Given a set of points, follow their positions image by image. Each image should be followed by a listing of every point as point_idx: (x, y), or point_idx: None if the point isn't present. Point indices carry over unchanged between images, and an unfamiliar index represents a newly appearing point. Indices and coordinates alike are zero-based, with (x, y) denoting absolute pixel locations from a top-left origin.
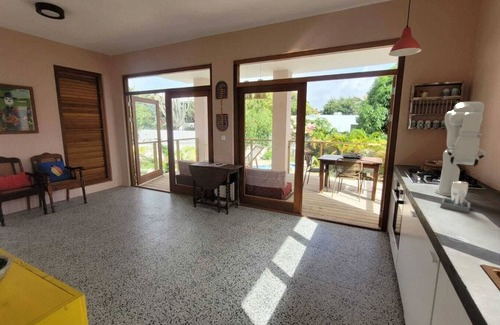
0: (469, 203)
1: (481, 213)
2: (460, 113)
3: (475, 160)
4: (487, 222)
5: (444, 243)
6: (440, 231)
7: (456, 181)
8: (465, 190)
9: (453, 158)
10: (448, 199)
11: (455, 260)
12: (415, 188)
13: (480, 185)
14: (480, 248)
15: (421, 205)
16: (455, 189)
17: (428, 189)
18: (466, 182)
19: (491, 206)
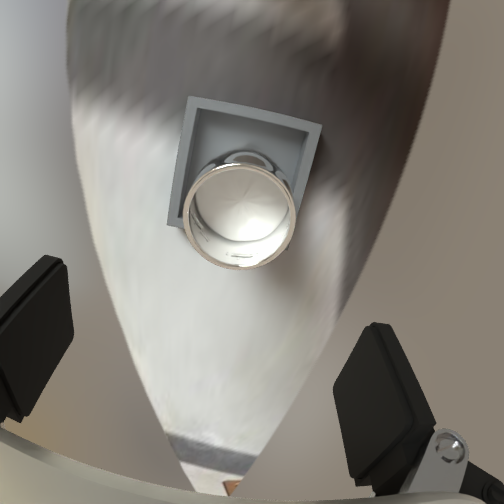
0: (314, 143)
1: (344, 200)
2: None
3: (353, 471)
4: (319, 313)
5: (181, 457)
6: (173, 426)
7: (214, 172)
8: (271, 238)
9: (30, 404)
10: (215, 110)
11: (194, 481)
12: None
13: None
14: (237, 454)
15: (102, 235)
16: (211, 235)
17: None
18: (289, 198)
19: (428, 43)
